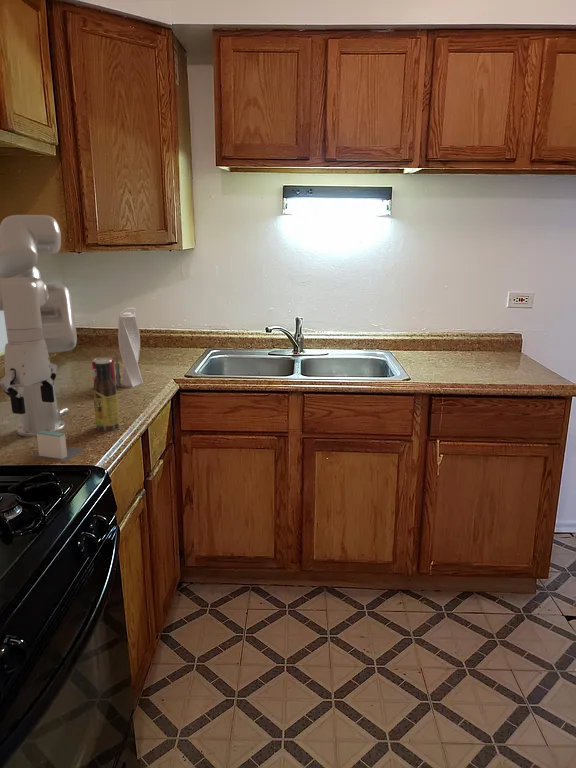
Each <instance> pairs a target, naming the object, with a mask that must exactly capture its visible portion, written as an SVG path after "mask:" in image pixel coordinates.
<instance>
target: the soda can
mask: <svg viewBox="0 0 576 768" xmlns="http://www.w3.org/2000/svg"><path fill="white" fill-rule="evenodd" d="M103 360H107V361H110V365H111V367H110V374H111V379H112V380H113V381H114V382H115V384H116V383H117V382H116V369H115V360H114V359H113V358H112V357H98V358H93V359H92V361H91V370H92V371H91V372H92V378H93V379H92V382H93V385H94V384H95V382H96V380H97V377H96V376H97V374H96V368H95V362H97V361H103Z"/></svg>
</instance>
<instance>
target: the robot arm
mask: <svg viewBox="0 0 576 768" xmlns="http://www.w3.org/2000/svg"><path fill="white" fill-rule="evenodd" d="M0 222H1V223H0V312H2V311H3V316H4V324H5V325H4V326H5V332H6V340H7V343H5V346H4V372H5V373H4V374H5V375H4V376H3V377H2V378H1V379H0V387H1V388H2V390H3V392H4V393H5V394H6V395H7V397H9V398H10V404H11V405H10V406H11V411H12V413H13V414H15V415H21V416H20V417H21V424H20V425H18V427H17V428H16V433H17V435H19V436H22V437H25V438H26V437H30V436H31V437H37V434H36V433H37V432H39V431H41V430H44V431H51V432H59V431H61V430H63V429H64V428H65V427H66V423H65V421H64V420H61V418H62V417H63V416H65V415H68V414H69V412H70V410H69V409H68V408H67V407H64V408H61V409H58V403H57V396H56V395H57V394H56V386H55V385H56V384H55V379H56V378H57V370H58V365H57V364H54V363H52V362H51V361H50V356H49V355H50V354H51V353H59V352H60V353H61V352H68V351H72V350H73V349H75V348H76V346H77V342H78V337H77V335H78V334H77V327H76V321H75V313H74V312H75V311H74V304H73V301H72V295H71V292H70V290H69V288H68V287H66V286H65V285H64V284H60V283H50V284H49V283H48V284H47V283H46V284H45V282H44V281H43V280H42V275H41V272H40V270H39V269H38V267H37V266H36V265H37V263H38V261H39V260H38V259H39V258H38V257H39V255H52V254H57V253H59V251H60V250H61V246H62V234H61V229H60V225H59V224H58V222H57V220H56V219H55V217H54V216H53V217H52V216H51V215H48V214H13V215H9V216H6V217H5V218H4V219H2V221H0ZM49 353H50V354H49ZM16 389H17V390H16Z"/></svg>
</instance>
